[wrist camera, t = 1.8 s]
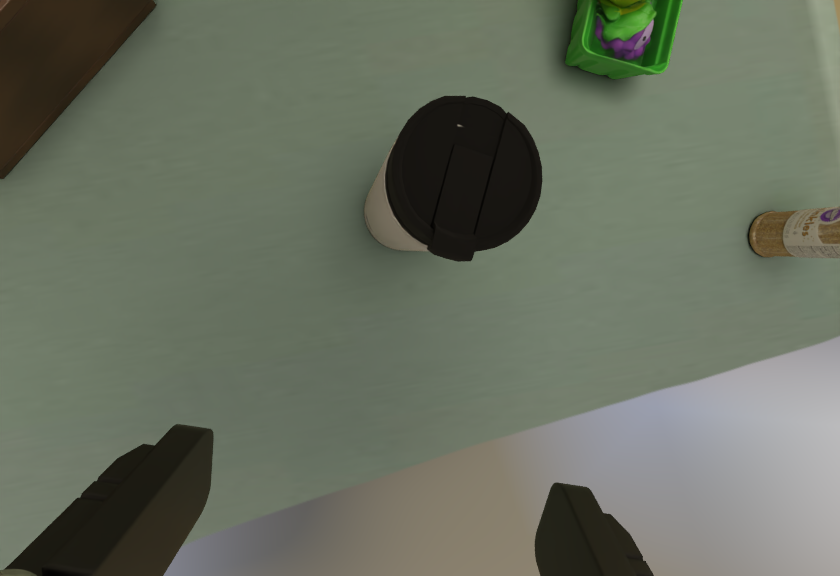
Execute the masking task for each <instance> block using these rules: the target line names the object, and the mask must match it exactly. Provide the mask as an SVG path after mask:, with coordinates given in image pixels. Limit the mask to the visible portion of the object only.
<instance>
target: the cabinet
mask: <svg viewBox="0 0 840 576" xmlns="http://www.w3.org/2000/svg"><path fill="white" fill-rule="evenodd" d="M155 6H156V4H155V2H154V1H153V0H0V178H1V179H3V178H4V177H5V176H6V175H7V174H8V173H9V172H10V171H11V169H12V168H13V167H14V166H15V165H16V164H17V163H18V161H19V160H20V159H21V158H22V157H23V156H24V155H25V154H26V152H27V151H28V150H29V149H30V148H31V147H32V146H33V144H34V143H35V142H36V141H37V140H38V139H39V138H40V137H41V135H42V134H43V133H44V132H45V131H46V130H47V129H48V127H49V126H50V125H51V124H52V123H53V122H54V121H55V120H56V118H57V117H58V116H59V115H60V114H61V113H62V112H63V110H64V109H65V108H66V107H67V106H68V105H69V104H70V103H71V101H72V100H73V99H74V98H75V97H76V96H77V95H78V94H79V92H80V91H81V90H82V89H83V88H84V87H85V86H86V84H87V83H88V82H89V81H90V80H91V79H92V78H93V77H94V75H95V74H96V73H97V72H98V71H99V70H100V69H101V67H102V66H103V65H104V64H105V63H106V62H107V61H108V60H109V58H110V57H111V56H112V55H113V54H114V53H115V52H116V50H117V49H118V48H119V47H120V46H121V45H122V44H123V43H124V41H125V40H126V39H127V38H128V37H129V36H130V35H131V34H132V32H133V31H134V30H135V29H136V28H137V27H138V26H139V24H140V23H141V22H142V21H143V20H144V19H145V18H146V17H147V15H148V14H149V13H150V12H151V11H152V10H153V9H154V7H155Z"/></svg>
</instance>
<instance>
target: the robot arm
mask: <svg viewBox="0 0 840 576" xmlns="http://www.w3.org/2000/svg"><path fill="white" fill-rule="evenodd" d="M212 454H213V431H212V430H211V429H207V428H200V427H194V426H187V425H181V424H176V425H174V426H173V427H172V428H171V429H170V430H169V431H168V432H167V433H166V434H165V435H164V436H163V437H162V439H161V440H160V441H159V442H158V443H157V444H156V445H155V446H154V445H147V444H143V445H141V446H139V447H137V448H135V449H134V450H132V451H130V452H128V453H126V454H125V455H123V456H121V457H119V458H117V459H116V460H115V461H114V462H113V463H112V464H111V465H110V466H109V467H108V468H107V469H106V470H105V471H104V472H103V473H102V474H101V475H100V476H99V477H98V480H97V481H94V482H93V483H92V484H91V485H90V486H89V487H88V488H87V489H86V490H85V491H84V492H83V493H82V495H81V497H80V498H77V499H76V500H75V501H74V502H73V503H72V504H71V505H70V506H69V507H68V508H67V509H66V510H65V511H64V512H63V513H62V514H61V515H60V516H58V517H57V518H56V519H55V520H54V521H53V522H52V523H51V524H50V525H49V526H48V527H47V528H46V529H45V530H44V531H43V532H42V533H41V534H40V535H39V536H38V537H37V538H36V539H35V540H34V541H33V542H32V543H31V544H30V545H29V546H28V547H27V548H26V549H25V550H24V551H23V552H22V553H21V554H20V555H19V556H18V557H17V558H16V559H15V560H14V561H13V562H12V563H11V564H10V565H9V566H7V567H6V568H5V569H4V570H0V576H163V575H164V573H165V572H166V570H167V568H168V567H169V565H170V564H171V562H172V560H173V559H174V557H175V556H176V554H177V552H178V551H179V549H180V547H181V546H182V544H183V543H184V541H185V539H186V538H187V536H188V534H189V533H190V531H191V530H192V528H193V526H194V525H195V523H196V521H197V520H198V518H199V517H200V515H201V513H202V511H203V509H204V507H205V504H206V502H207V498H208V495H209V491H210V486H211V471H212ZM535 557H536V562H537V566H538V569H539V572H540V576H654V575H653V573H652V572H651V570H650V568H649V566H648V565H647V563H646V561H643V556H642V554H641V553H640V551H639V549H638V548H637V546H636V544H635V542H634V541H633V539H632V537H631V535H630V534H629V533H628V532H627V531H626V530H625V529H624V528H623V527H622V526H621V525H620V524H619V523H618V522H617V520H616V519H615V518H614V517H613V516H612V515H611V514H605V513H603V512H602V510H601V508H600V506H599V505H598V503H597V501H596V499H595V497H594V495H593V493H592V492H591V490H590V489H589V488H587V487H583V486H576V485H570V484H563V483H554V484H553V485H552V487H551V489H550V492H549V495H548V499H547V501H546V505H545V508H544V511H543V514H542V517H541V520H540V523H539V526H538V529H537V532H536V538H535Z"/></svg>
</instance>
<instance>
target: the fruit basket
mask: <svg viewBox="0 0 840 576" xmlns="http://www.w3.org/2000/svg"><path fill="white" fill-rule="evenodd" d="M682 2H683V0H578V3H577V11H578V12H577V14H576V16H575V17H574V22H573V27H572V31H571V42H570V45H569V46H568V50H567V55H566V60H565V63H566V64H567V65H569V66H578V67H579V68H581V69H582V70H585V71H589V72H592V73H595V74H598V75H607V76H608V77H610V78H611V79H620V78H626V77H631V76H637V75H642V74H646V75H653V74H661V73H663V72H664V71H665V70H666V69H667V67H668V64H669V60H670V55H671V51H672V46H673V42H674V38H675V32H676V28H677V24H678V19H679V15H680V10H681V6H682Z"/></svg>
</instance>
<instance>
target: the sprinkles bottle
mask: <svg viewBox="0 0 840 576" xmlns="http://www.w3.org/2000/svg"><path fill="white" fill-rule="evenodd" d="M749 238H750V244H751V246H752V248H753V249H754V251H755V252H756V253H757V254H759V255H761V256H763V257H773V256H794V257H808V258H840V207H829V208H817V209H804V210H800V211H788V212H776V211H770V212H766V213H764V214H762V215H760V216H758V217H757V219H755V221H754V222H753V224H752V226H751V228H750V233H749Z"/></svg>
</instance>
